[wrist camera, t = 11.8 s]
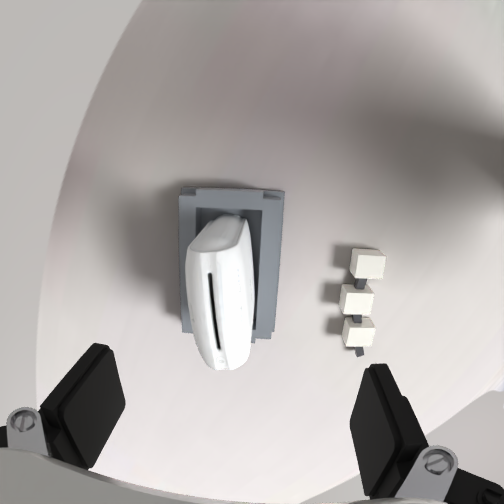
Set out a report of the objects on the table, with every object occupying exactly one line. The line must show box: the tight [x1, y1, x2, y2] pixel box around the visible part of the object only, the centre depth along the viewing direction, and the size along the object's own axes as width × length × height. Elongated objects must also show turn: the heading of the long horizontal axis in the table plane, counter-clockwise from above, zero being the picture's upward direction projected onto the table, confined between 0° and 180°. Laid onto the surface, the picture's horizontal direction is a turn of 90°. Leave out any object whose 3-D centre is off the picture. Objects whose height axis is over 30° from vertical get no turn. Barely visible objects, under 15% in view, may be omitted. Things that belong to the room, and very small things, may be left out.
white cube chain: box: [339, 248, 386, 357], centre depth 33 cm, size 4×13×2 cm, turn 177°
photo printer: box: [185, 214, 255, 370], centre depth 26 cm, size 10×4×12 cm, turn 4°
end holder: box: [179, 187, 285, 343], centre depth 31 cm, size 10×15×3 cm, turn 177°
